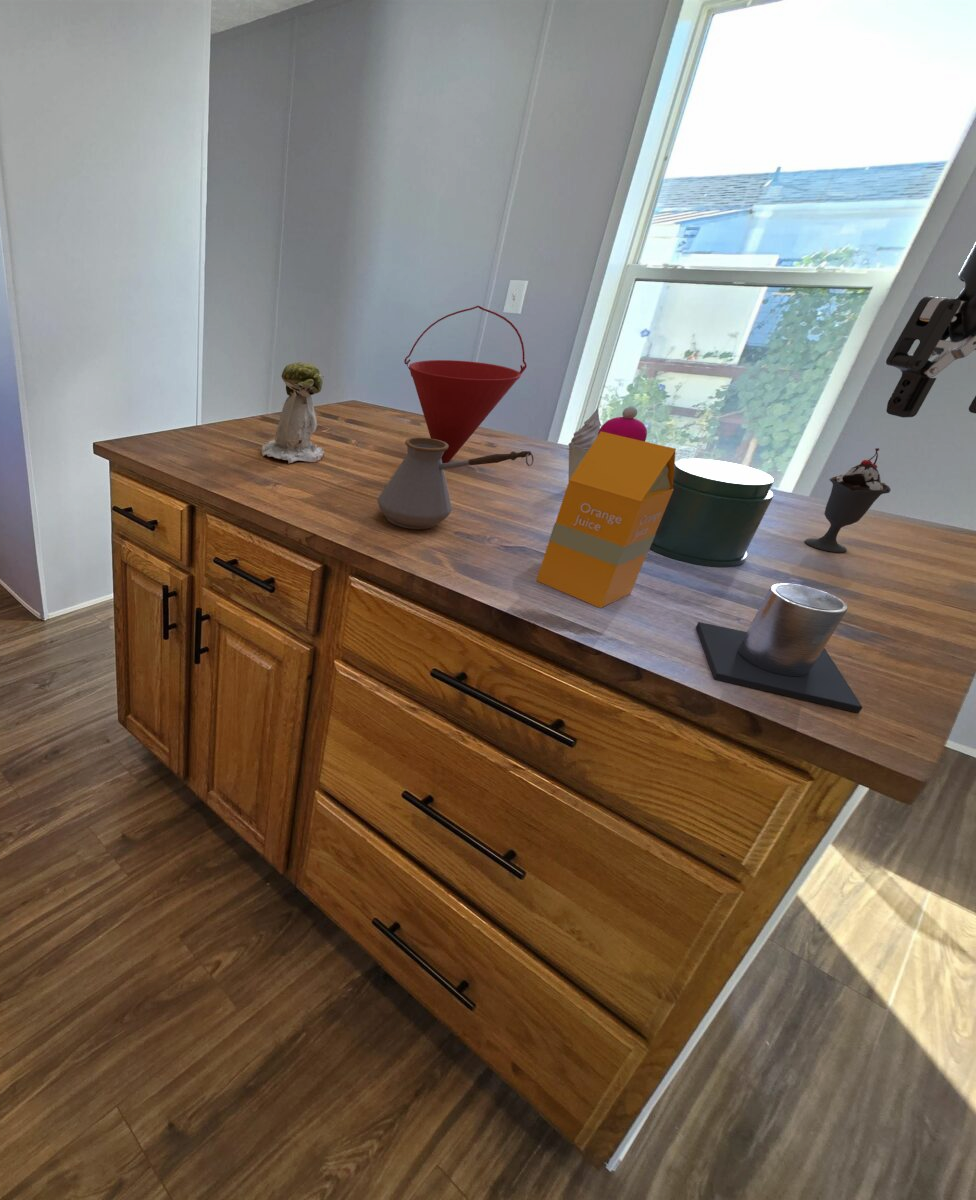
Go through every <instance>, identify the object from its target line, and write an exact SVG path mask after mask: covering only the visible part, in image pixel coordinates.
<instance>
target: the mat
mask: <svg viewBox="0 0 976 1200" xmlns="http://www.w3.org/2000/svg"><path fill="white" fill-rule="evenodd" d="M695 629H696V631H697V635H698V637H699V640H700V642H701V645H702V648H703V651H704V654H705V657H706V659H707V662H708V665H709V669H710V671H711V674H712V677H713V679H714V680H717V681H722V682H725V683H728V684H729V683H730V684H734V685H737V686H742V687H746V688H750V689H755V690H760V691H762V692H767V693H772V694H776V695H780V696H784V697H789V698H794V699H796V700H801V701H806V702H810V703H814V704H819V705H823V706H826V707H831V708H835V709H839V710H843V711H849V712H853V713H856V712H857V714H860V712H861V710H863V705H862V703H861V702H860V700H859V699H858V697H857V696H856V695H855V693H854V692H853V690H852V688H851V687H850V686H849V685H850V684H848V682H847V681H846V679H845V678H844V676H843V674H842V673H841V671H840V670H839V668H838V667H837V665H836V663H835V662H834V660H833V659H832V657H831V655H830V654H829V652H828V651H827V650H826V647H824V649H823V651H822V652H821V654H820V655H819V657H818V659H817V660H816V662H815V664H814V665H813V667H812V669H811V670H810V672H809V673H808V674H807V675H805V676H800V677H792V676H784V675H780V674H776V673H772V672H769V671H766V670H764V669H761V668H759V667H757V666H755V665H753V664H751V663H749V662H748V661H746V660H745V659H744V658H742V657H741V656H740V654H739V653H738V648H739V646H740V644H741V642H742V640H743V638H744V637H745V635H746V633H747V631H745V630H741V629H734V628H730V627H725V626H720V625H716V624H711V623H707V622H701V621H698V622H697V623H696V626H695Z"/></svg>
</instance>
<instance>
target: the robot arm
mask: <svg viewBox="0 0 976 1200" xmlns="http://www.w3.org/2000/svg"><path fill="white" fill-rule="evenodd" d="M957 277H958V280H959V281H961V282H963V283H964V287H963V289H962V290H961V291H960V293H959V294H958V295H957V296H956V297H955V298H952V297H944V296H943V297H942V296H931V295H927V296H923V298H921V299H920V300H919V301H918V303H917V305H916V306H915V308H914V309H913V312H912V314H911V315H910V317H909V319H908V321H907V322H906V324H905V326H904V327H903V330H902V331H901V333H900V335H899V336H898V337H897V340H896V342H895V344H894V345H893V347H892V349H891V351H890V353H889V354H888V356H887V358H886V361H885V364H886V365H887V366H891V367H894V368H896V369H898V370H900V372H901V377H900V378H899V380H898V382H897V384H896V386H895V388H894V389H893V392H892V394H891V396H890V397H889V399H888V401H887V405H886V410H885V411H886V413H887V414H889V415H890V416H891V415H892V416H895V417H899V418H914V417H915V416H916V415H918V413H919V411H920V409H921V407H922V405H923V404H924V402H925V400H926V398H927V397H928V395H929V393H930V391H931V390H932V388H933V385H934V384H935V382H936V381H937V377H935V376H937V375H938V374H939V373H941V372H942V371H944V370H945V369H946V368H947V367H948V366H949V365H951V364H952V363H953V362H954V361H956V360H959V359H964V358H966V357H968V356H969V355H970V354H971V353H973V352H974V351H976V242H975V243H974V244H973V247H972V249H971V250H970V252H969V254H968V256H967V258H966V260H965V261H964V263H963V265H962V267H961V269H960V271H959V272H958V275H957ZM947 339H949V340H947ZM917 340H918V341H919V343H918V345H917V347H916V349H915V350H914V352H913V354H912V353H909V351H910V350H911V348H912V346H913V344H914V343H915V342H916V341H917ZM934 356H936V357H935V358H933V359H932V360H930V358H932V357H934ZM968 412H969V413H971V414H976V395H975V396H974V398H973V400H972V401H971V403H970V404H969V406H968Z"/></svg>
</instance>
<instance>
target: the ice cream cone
mask: <svg viewBox="0 0 976 1200" xmlns="http://www.w3.org/2000/svg"><path fill="white" fill-rule="evenodd" d="M583 423H584V424H583V425H582V427H581V428H579V429H578V430H577V431H575V432H574V433H573V437H572V438H571V440H570V442H569V443H568V483H569V480H570V478H571V476H572V475H573V473H574V472H575V470H576V469H577V467H578V466H579V464H580V463H581V461H582V460H583V458H584V457H585V455H586V453H587V452H588V450H589V449H590V447H591V446H592V444H593V443H594V441H595V440H596V438H597V436H598V432H599V430H600V428H601V427H602V424H601V420H600V412H599V407H597V408H596V409H595V411H594V412H593V413H592V414H591V415H590V417H589V418H588V419H587V420H585V421H584V422H583ZM568 483H567V484H568Z"/></svg>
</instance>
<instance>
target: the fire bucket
mask: <svg viewBox="0 0 976 1200" xmlns="http://www.w3.org/2000/svg"><path fill="white" fill-rule="evenodd" d="M475 309H480V310H482V311H484V312H487V313H489V314H492V315H494V316H497V317H498V318H500V319H502V320H504V321H505V322H506V323H508V324H509V325H510V326H511V327H512V328H513V330H514V331H515V333H516V335H517V336H518V338H519V342H520V344H521V351H522V363H523V365H522V364H519V365H520V370H519V371H518V370H516V369H513V368H510V367H507V366H502V365H498V364H494V363H493V364H491V363H487V362H479V361H467V360H454V359H435V360H434V359H431V360H420V361H414V362H412V363H410V362H411V359H410V357H411V355H412V353H413V351H414V349H415V347H416V346H417V344H418V343H419V341H420V340H421V338H422V337H423V336H424V335H425V333H427V332H428V330H430V329H431V328H432V327H433V326H435V325H436V324H437V323H439V322H441V321H442V320H445V319H447V318H449V317H451V316H454V315H457V314H460V313H464V312H467V311H472V310H475ZM525 356H526V355H525V345H524V342H523V339H522V336H521V334H520V332H519V330H518V328H517V327H516V326H515V325H514V323H512V322H511V321H510V320H509V319H507V318H506V317H505V316H503V315H501V314H499V313H497V312H495V311H492V310H489V309H487V308H484V307H482V306H481V305H476V306H473V307H470V308H465V309H461V310H458V311H455V312H452V313H449V314H447V315H445V316H443V317H441V318H439V319H437V320H436V321H434V322H433V323H431V324H430V325H429V326H428V327H427V328H426V329H425V330H424V331H423V332H422V333H421V334H420V335H419V337H418V338H417V339H416V341H415V342H414V344H413V346H412V348H411V349H410V351H409V354H408V355H407V356H406V357H405V358H404V361H403V362H404V365H406V366H407V368H408V370H409V373H410V377H412V380H413V384H414V387H415V390H416V393H417V397H418V399H419V403H420V407H421V410H422V413H423V417H424V421H425V424H426V427H427V430H428V434H429V438H431V439H436V440H440V441H443V442H445V443H447V444H448V445H449V447H448V449H447V450H445V451H444V453H443V455H442V457H441V459H442V463H450V462H451V460H452V459H453V458H454V457H455V456H456V455H457V454H458V452H459V451H460V450H461V448H462V447H463V446H464V445H465V444H466V442H467V441H468V440H469V439H470V438H471V436H473V434H474V433H475V431H476V430H477V429H479V427H480V426H481V424H482V423H483V422H484V421H485V420H486V419H487V417H488V416H489V414H491V412H492V411H493V410H494V409H495V407H497V406H498V404H499V402H500V401H502V399H503V398H504V397H505V395H506V394H507V393H508V392H509V391H510V390H511V388H512V387H513V386H514V385H515V383H516V382H518V380H519V379H520V378H521V377H522V374H523V373H524V372H525V370H526V369H527V366H528V365H527V363H526V360H525V358H526V357H525ZM408 358H409V359H408ZM409 363H410V364H409ZM408 364H409V365H408Z"/></svg>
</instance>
